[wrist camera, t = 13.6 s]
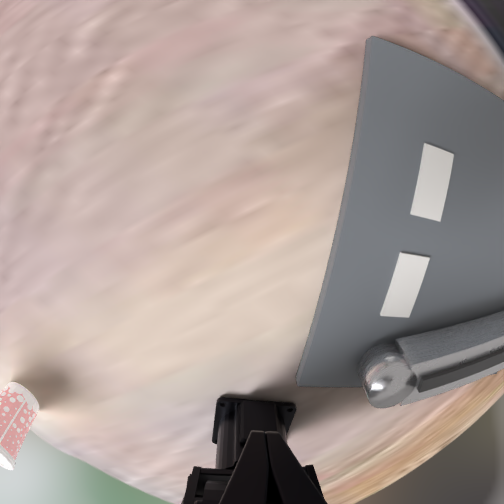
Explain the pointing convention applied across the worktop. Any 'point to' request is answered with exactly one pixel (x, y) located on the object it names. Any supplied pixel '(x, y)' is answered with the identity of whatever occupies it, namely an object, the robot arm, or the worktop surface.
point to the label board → (411, 214)
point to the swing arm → (432, 362)
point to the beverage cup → (15, 421)
